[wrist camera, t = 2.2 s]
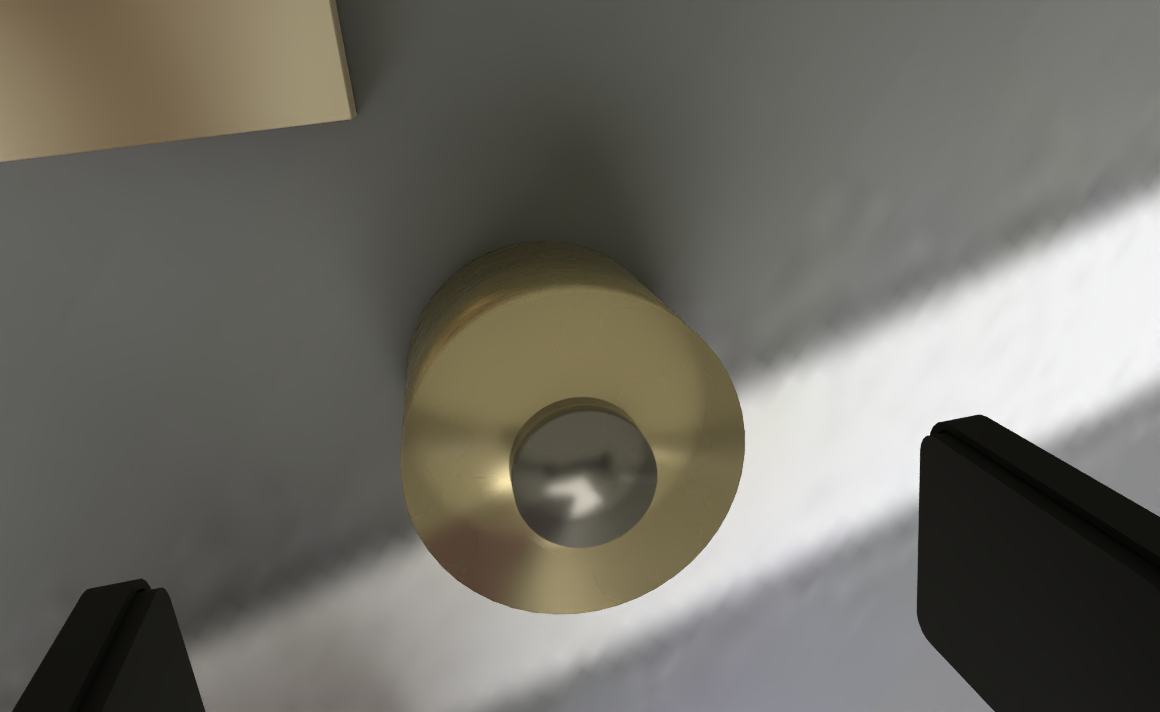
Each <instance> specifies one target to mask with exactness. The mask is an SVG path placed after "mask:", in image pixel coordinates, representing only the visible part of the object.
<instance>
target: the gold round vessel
mask: <svg viewBox="0 0 1160 712" xmlns="http://www.w3.org/2000/svg"><path fill="white" fill-rule="evenodd" d="M744 454H745V431H744V423H743V416H742V410H741V407H740V403H739V400H738V396H737V393H736V390H735V388H734V386H733V383H732V381H731V379H730V377H729V374H728V373H727V371H726V369H725V368H724V366H723V365H722V363H721V361H720V360H719V358H718V357H717V355H716V354H715V353H714V352H713V351H712V349H711V348H710V347H709V346H708V345H707V344H706V342H705V341H704V340H703V339H702V338H701V337H700V336H699V335H697V334H696V333H695V332H694V331H693V330H692V329H691V328H690V327H689V326H688V325H687V324H686V323H684V322H683V321H682V320H681V319H680V318H679V317H678V316H677V315H676V314H675V313H674V312H672V311H671V310H670V309H669V308H668V307H667V306H666V305H665V304H664V303H663V302H662V301H660V300H659V299H658V298H657V297H656V296H655V295H654V294H653V293H652V292H651V291H650V290H648V289H647V288H646V287H645V286H644V285H643V284H642V283H641V282H640V281H639V280H638V279H636V278H635V277H634V276H633V275H632V274H631V273H630V272H629V271H627V270H626V269H625V268H624V267H622V266H621V265H619V264H618V263H616V262H615V261H613V260H612V259H610V258H609V257H606V256H604V255H602V254H600V253H598V252H596V251H594V250H591V249H588V248H585V247H582V246H579V245H574V244H568V243H563V242H550V241H538V242H526V243H520V244H516V245H511V246H506V247H504V248H501V249H498V250H495V251H492V252H489V253H487V254H485V255H484V256H482V257H480V258H478V259H476V260H474V261H472V262H471V263H469V264H468V265H466V266H465V267H463V268H462V269H460V270H459V271H458V272H456V273H455V274H454V275H453V276H452V277H451V278H450V279H449V280H448V281H446V282H445V283H444V284H443V286H442V287H441V288H440V289H439V290H438V291H437V293H436V294H435V295H434V296H433V297H432V299H431V300H430V302H429V304H428V305H427V307H426V308H425V310H424V311H423V313H422V315H421V317H420V320H419V322H418V324H417V326H416V328H415V331H414V335H413V338H412V341H411V344H410V350H409V356H408V364H407V378H406V392H405V406H404V420H403V435H402V449H401V477H402V486H403V494H404V497H405V501H406V504H407V508H408V512H409V515H410V517H411V519H412V522H413V524H414V526H415V528H416V531H417V533H418V535H419V536H420V538H421V539H422V541H423V543H424V544H425V546H426V547H427V549H428V550H429V552H430V553H431V554H432V555H433V556H434V558H435V559H436V560H437V561H438V562H439V564H440V565H441V566H442V567H443V568H444V569H445V570H447V571H448V572H449V573H450V574H451V575H452V576H453V577H454V578H455V579H457V580H458V581H459V582H461V583H462V584H464V585H465V586H467V587H468V588H470V589H471V590H473V591H474V592H476V593H478V594H480V595H482V596H484V597H486V598H488V599H490V600H492V601H494V602H497V603H500V604H503V605H506V606H509V607H512V608H516V609H520V610H525V611H530V612H535V613H546V614H578V613H585V612H592V611H598V610H602V609H606V608H610V607H613V606H617V605H620V604H623V603H625V602H628V601H631V600H633V599H636V598H638V597H640V596H642V595H644V594H646V593H648V592H650V591H652V590H654V589H656V588H657V587H659V586H660V585H662V584H663V583H665V582H666V581H668V580H669V579H671V578H673V577H674V576H675V575H676V574H678V573H679V572H680V571H681V570H682V569H684V568H685V567H686V566H687V565H688V564H690V563H691V562H692V561H693V560H694V559H695V557H696V556H697V555H698V554H699V553H700V552H701V551H702V550H703V549H704V548H705V547H706V545H707V544H708V543H709V541H710V540H711V539H712V537H713V536H714V535H715V533H716V532H717V531H718V529H719V527H720V526H721V524H722V522H723V520H724V519H725V517H726V515H727V513H728V511H729V509H730V507H731V504H732V502H733V500H734V497H735V495H736V492H737V489H738V485H739V481H740V478H741V474H742V468H743V461H744Z"/></svg>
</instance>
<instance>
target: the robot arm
mask: <svg viewBox="0 0 1160 712" xmlns="http://www.w3.org/2000/svg"><path fill="white" fill-rule="evenodd" d="M917 617H918V621H919V624H920V627H921V630H922V632H923V634H924V635H925V637H926V638H927V640H928V641H929V642H930V643H931V644H932V646H933V647H934V648H935V649H936V650H937V651H938V652H939V653H940V654H941V655H942V656H943V657H944V658H945V659H946V660H947V661H948V663H949V664H950V665H951V666H952V667H953V668H954V669H955V670H956V671H957V672H958V673H959V674H960V675H961V676H962V677H963V678H964V679H965V681H966V682H967V683H968V684H969V685H970V686H971V687H972V688H973V689H974V690H975V691H976V692H977V693H978V694H979V695H980V696H981V698H982V699H983V700H984V701H985V702H986V703H987V704H988V705H989V706H990V707H991V708H992V709H993V710H994V711H995V712H1160V517H1159V516H1157V515H1155V514H1154V513H1152V512H1150V511H1149V510H1147V509H1145V508H1143V507H1142V506H1140V505H1138V504H1136V503H1135V502H1133V501H1131V500H1130V499H1128V498H1126V497H1124V496H1123V495H1121V494H1119V493H1117V492H1116V491H1114V490H1112V489H1111V488H1109V487H1107V486H1105V485H1104V484H1102V483H1100V482H1098V481H1097V480H1095V479H1093V478H1092V477H1090V476H1088V475H1086V474H1085V473H1083V472H1081V471H1079V470H1078V469H1076V468H1074V467H1073V466H1071V465H1069V464H1067V463H1066V462H1064V461H1062V460H1060V459H1059V458H1057V457H1055V456H1054V455H1052V454H1050V453H1048V452H1047V451H1045V450H1043V449H1041V448H1040V447H1038V446H1036V445H1035V444H1033V443H1031V442H1029V441H1028V440H1026V439H1024V438H1022V437H1021V436H1019V435H1017V434H1016V433H1014V432H1012V431H1010V430H1009V429H1007V428H1005V427H1003V426H1002V425H1000V424H998V423H997V422H995V421H993V420H991V419H990V418H988V417H986V416H983V415H974V416H969V417H964V418H959V419H954V420H949V421H944V422H939V423H937V424H936V425H934V426H933V428H932V431H931V433H930V436H926V437H925V438H924V439H923V441H922V443H921V449H920V488H919V534H918V581H917ZM12 712H205V709H204V706H203V702H202V699H201V696H200V693H199V690H198V686H197V683H196V680H195V677H194V673H193V670H192V667H191V664H190V660H189V657H188V654H187V651H186V648H185V644H184V641H183V638H182V635H181V631H180V628H179V625H178V622H177V619H176V615H175V612H174V609H173V606H172V602H171V599H170V597H169V594H168V593H167V591H166V590H165V589H164V588H157V589H152V590H151V588H150V586H149V585H148V583H147V582H146V581H145V580H143V579H137V580H132V581H127V582H122V583H116V584H111V585H106V586H101V587H96V588H91V589H87V590H86V591H85V592H84V593H83V594H82V596H81V597H80V599H79V601H78V602H77V604H76V606H75V607H74V609H73V611H72V612H71V614H70V616H69V617H68V619H67V621H66V622H65V624H64V626H63V627H62V629H61V631H60V633H59V634H58V636H57V638H56V639H55V641H54V643H53V644H52V646H51V648H50V649H49V651H48V653H47V654H46V656H45V658H44V659H43V661H42V663H41V664H40V666H39V668H38V669H37V671H36V673H35V674H34V676H33V678H32V679H31V681H30V683H29V684H28V686H27V688H26V689H25V691H24V693H23V694H22V696H21V698H20V699H19V701H18V703H17V704H16V706H15V708H14V709H13V711H12Z"/></svg>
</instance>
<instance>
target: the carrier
mask: <svg viewBox="0 0 1160 712" xmlns="http://www.w3.org/2000/svg"><path fill="white" fill-rule="evenodd" d="M355 117H357V113H356V108H355V102H354V97H353V91H352V86H351V81H350V75H349V70H348V65H347V59H346V54H345V48H344V43H343V38H342V32H341V27H340V22H339V16H338V11H337V5H336V0H0V162H4V161H12V160H20V159H29V158H37V157H45V156H53V155H61V154H70V153H78V152H86V151H94V150H103V149H111V148H119V147H127V146H135V145H144V144H152V143H160V142H168V141H176V140H185V139H193V138H201V137H209V136H218V135H226V134H234V133H242V132H250V131H259V130H267V129H275V128H283V127H292V126H300V125H308V124H316V123H324V122H333V121H341V120H349V119H353V118H355Z"/></svg>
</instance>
